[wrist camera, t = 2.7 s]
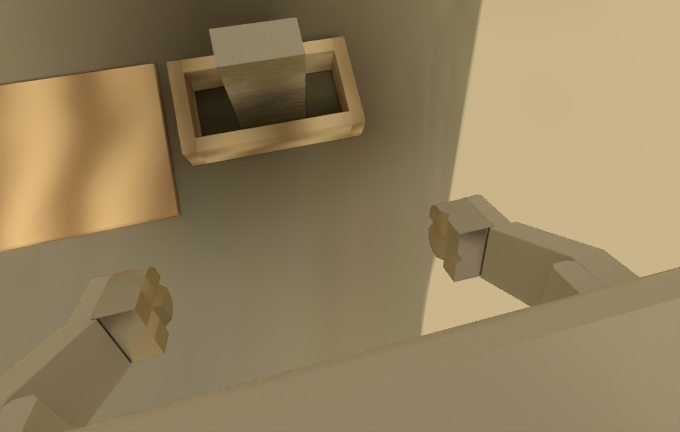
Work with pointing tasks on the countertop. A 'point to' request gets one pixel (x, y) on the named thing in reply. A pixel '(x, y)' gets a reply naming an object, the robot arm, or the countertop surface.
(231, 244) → the countertop surface
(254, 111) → the grey block
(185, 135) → the birch box
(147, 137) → the cork mat
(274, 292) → the countertop surface
